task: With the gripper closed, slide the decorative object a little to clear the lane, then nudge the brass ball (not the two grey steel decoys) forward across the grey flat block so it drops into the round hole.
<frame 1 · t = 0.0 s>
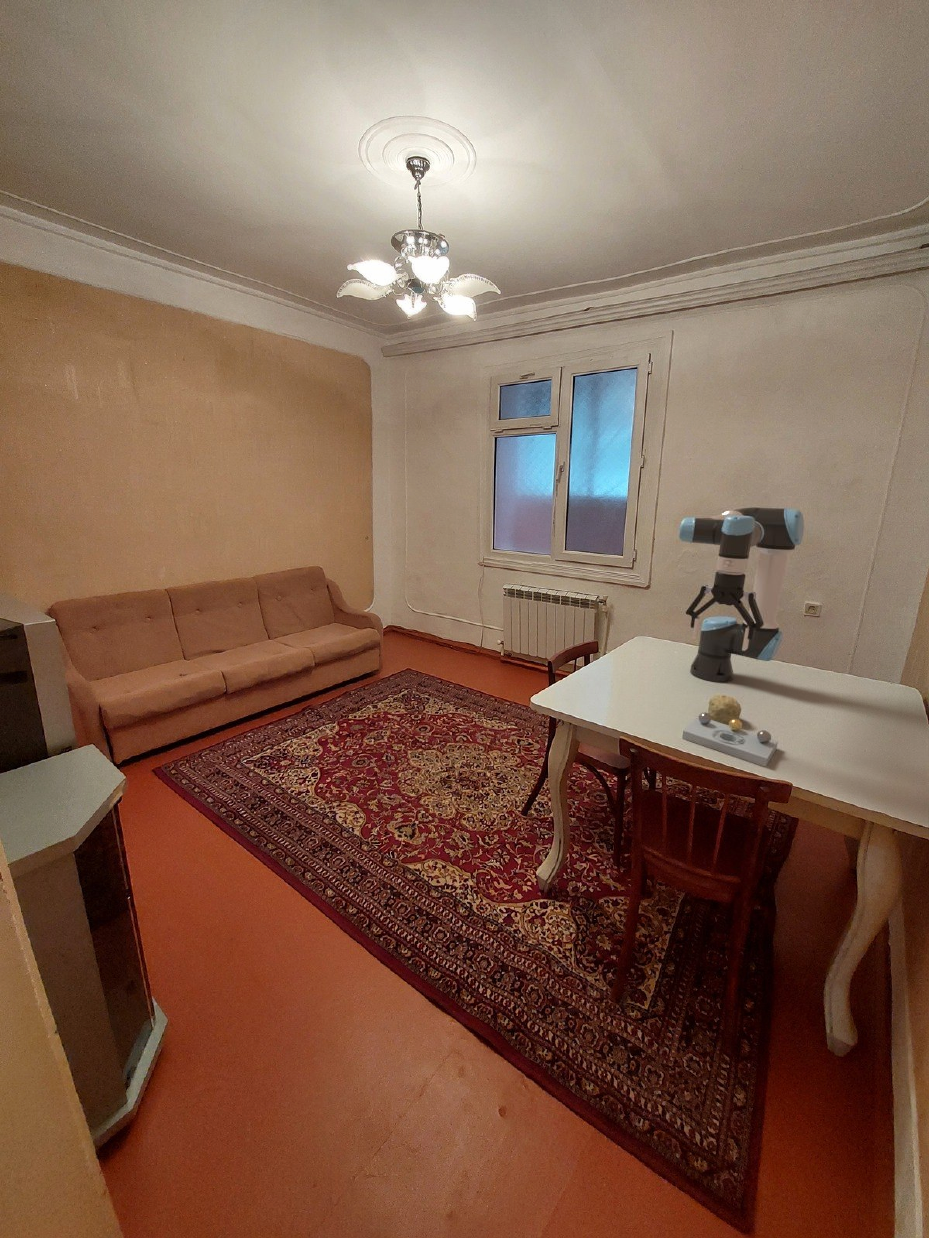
hand: (719, 644, 147), 28 cm above the table, fingers open, 13 cm apart
grey flat block: (728, 743, 147), on the table
decorative object: (722, 719, 162), on the table
brass ball: (735, 724, 149), point 4 cm above the table, touching grey flat block
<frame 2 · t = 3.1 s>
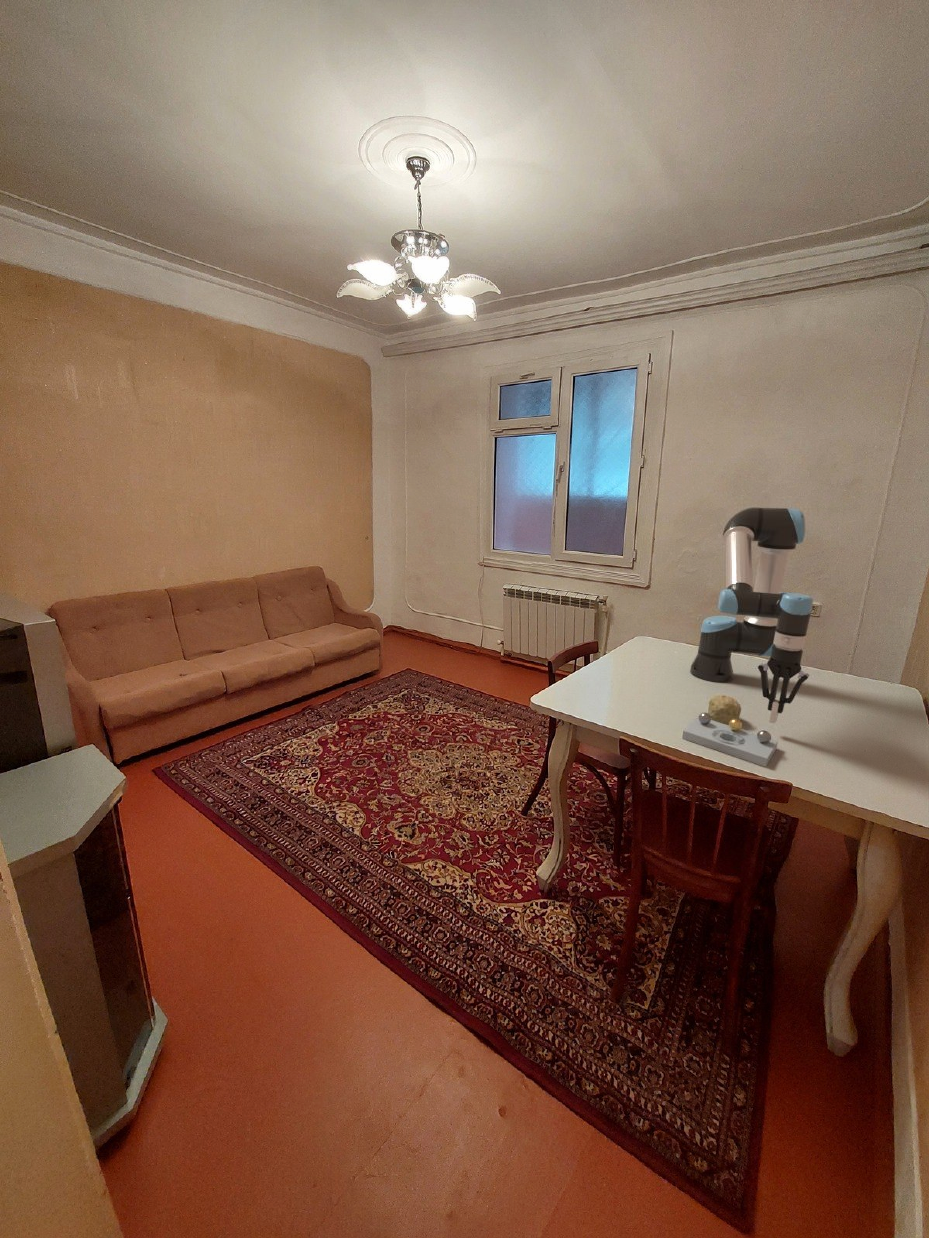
hand: (772, 721, 152), 4 cm above the table, fingers closed
nothing on the table moved.
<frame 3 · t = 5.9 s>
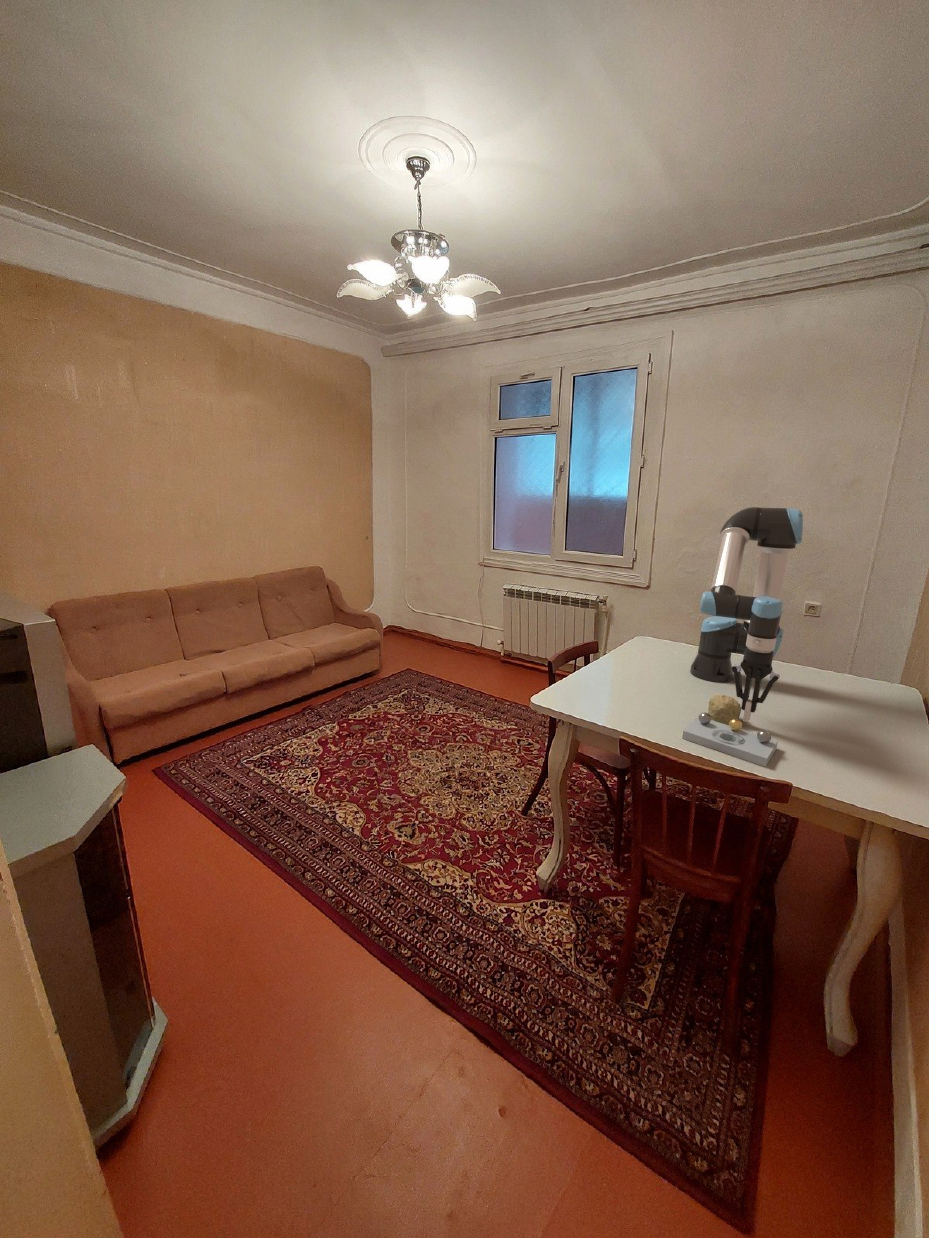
hand: (746, 720, 157), 2 cm above the table, fingers closed
decorative object: (722, 719, 162), on the table, touching gripper
everything else where it was.
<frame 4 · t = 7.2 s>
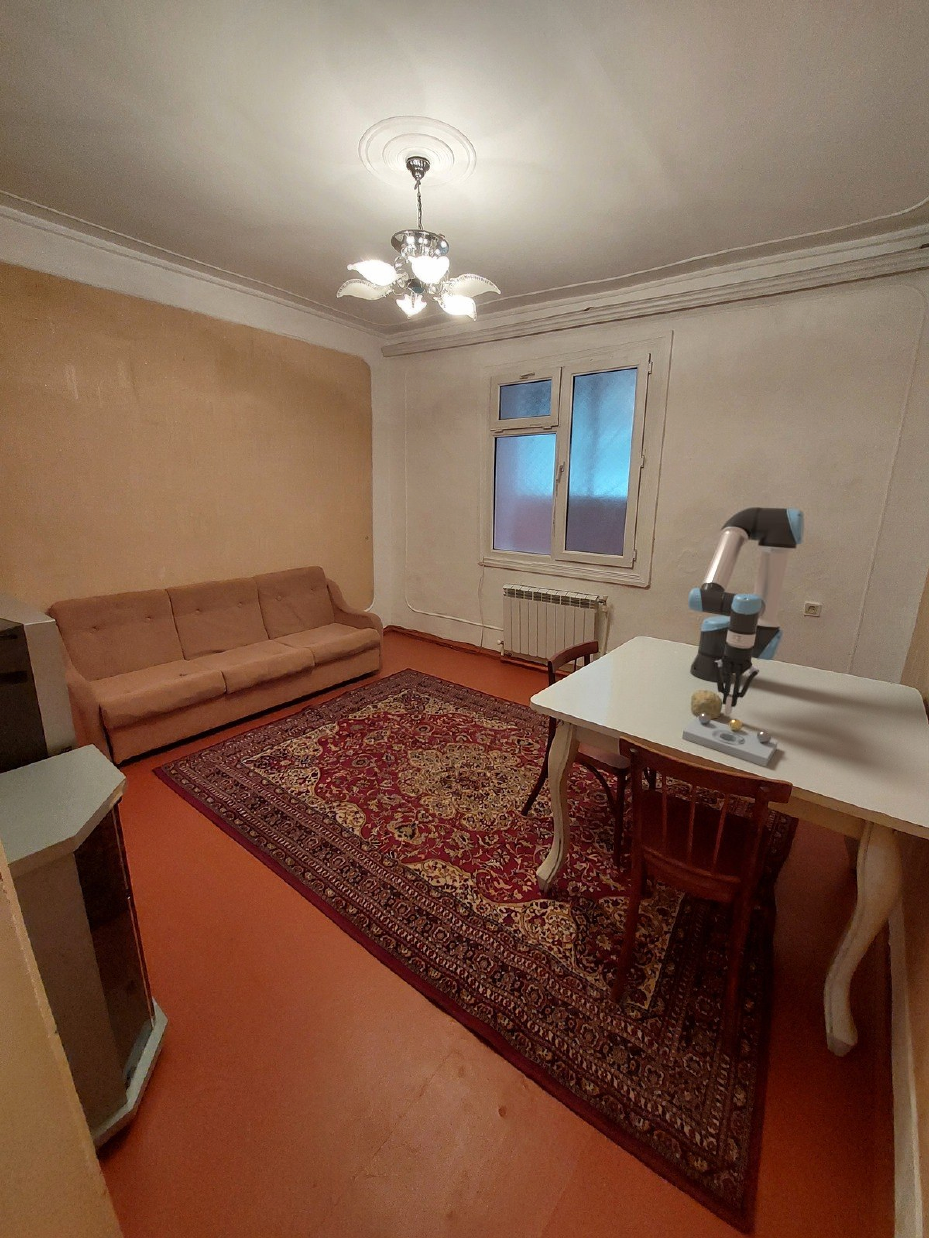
hand: (727, 714, 161), 2 cm above the table, fingers closed
decorative object: (704, 714, 165), on the table, touching gripper
everything else where it was.
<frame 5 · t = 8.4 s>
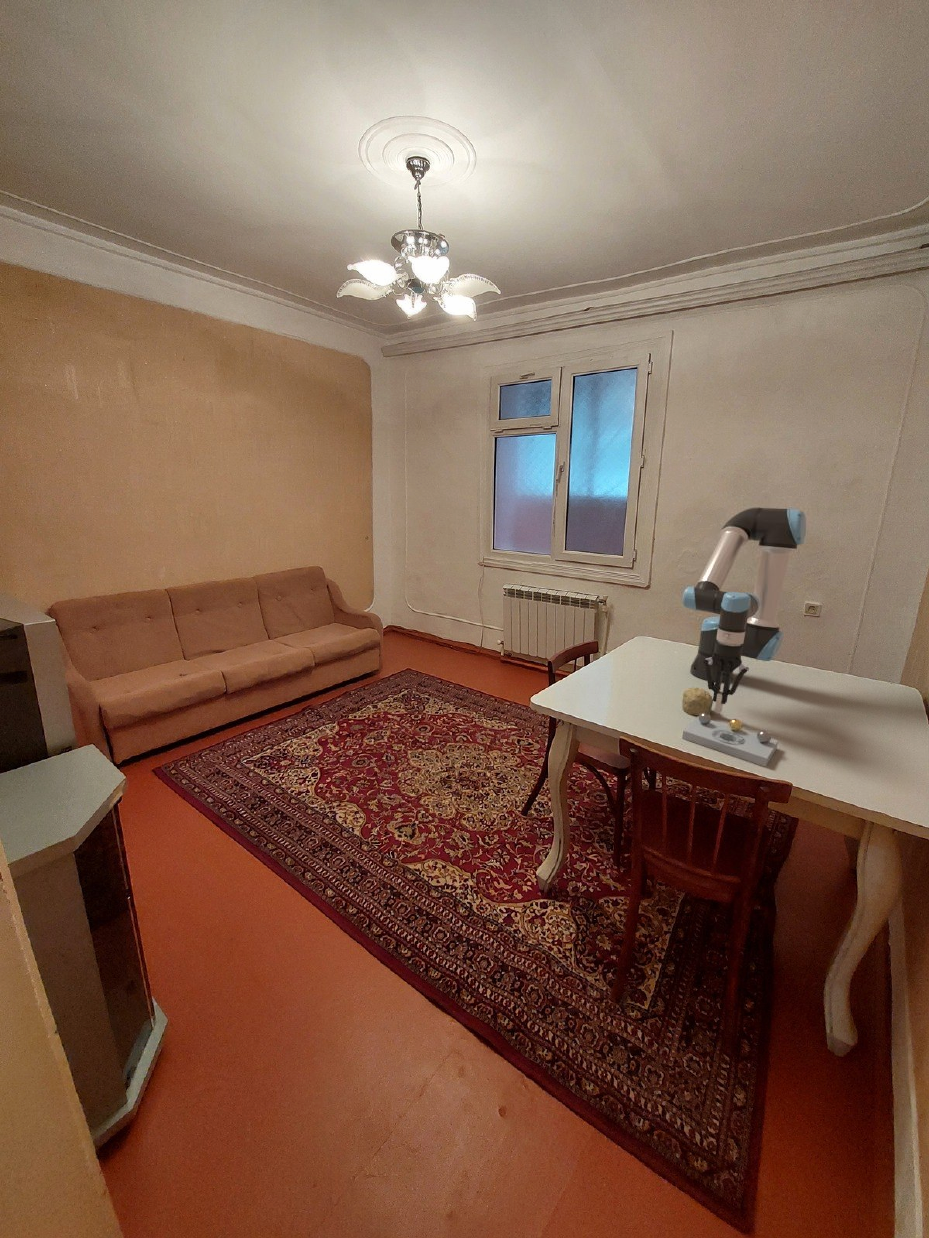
hand: (717, 711, 162), 2 cm above the table, fingers closed
decorative object: (695, 711, 167), on the table, touching gripper
everything else where it was.
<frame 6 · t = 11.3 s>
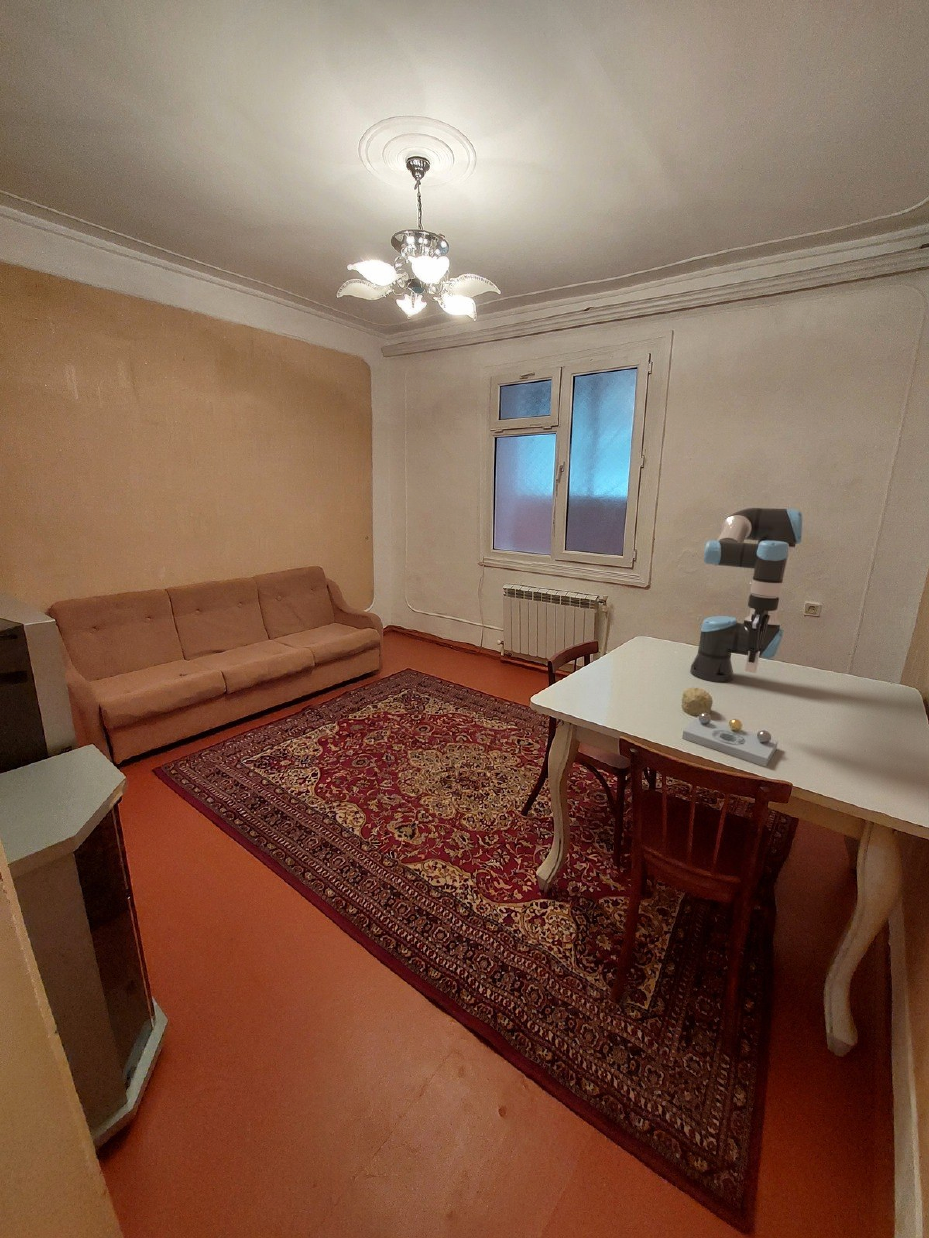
hand: (750, 671, 152), 19 cm above the table, fingers closed
decorative object: (695, 711, 167), on the table
everything else where it was.
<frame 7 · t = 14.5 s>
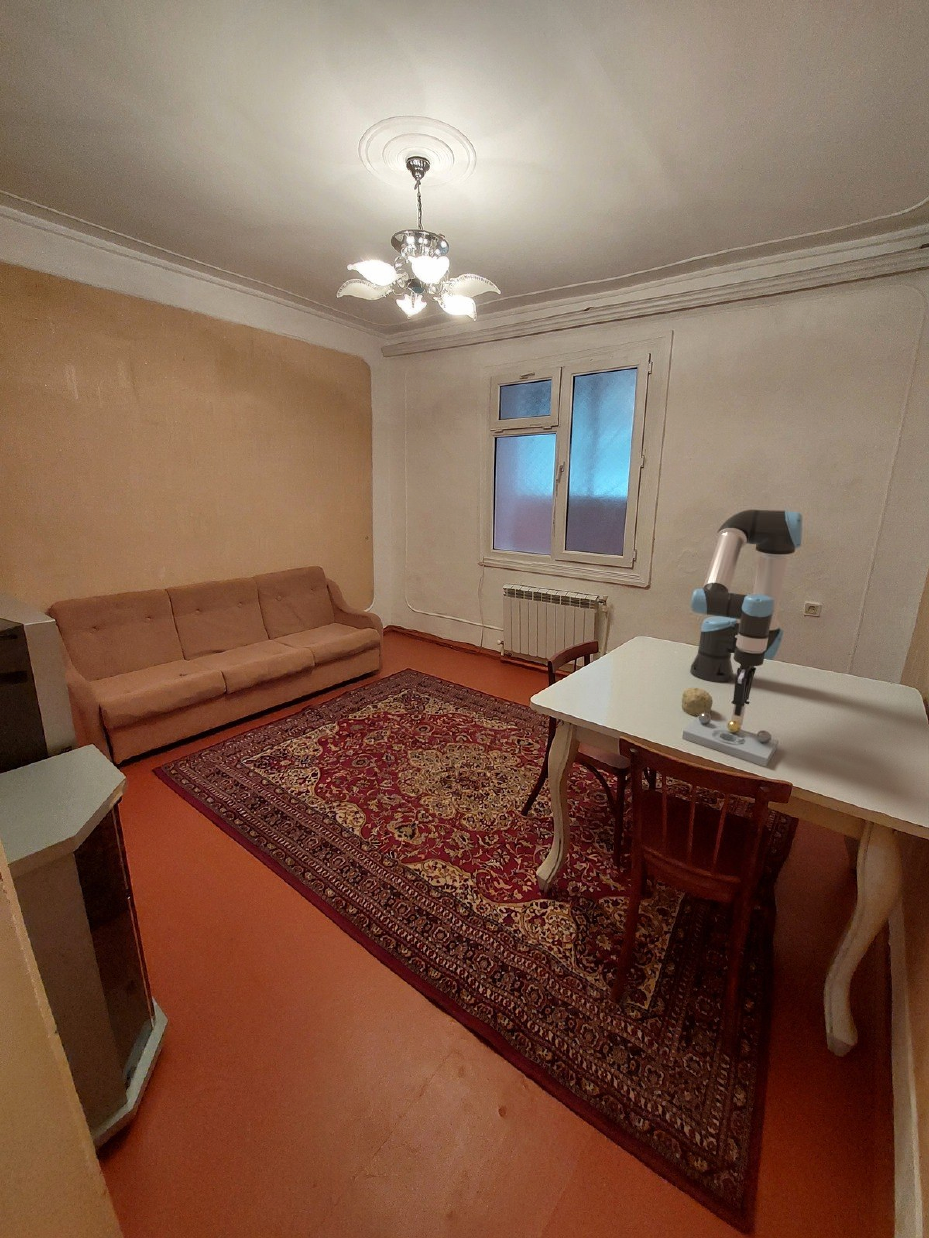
hand: (736, 723, 150), 4 cm above the table, fingers closed
brass ball: (733, 726, 148), point 4 cm above the table, tilted 51°, touching grey flat block
everything else where it was.
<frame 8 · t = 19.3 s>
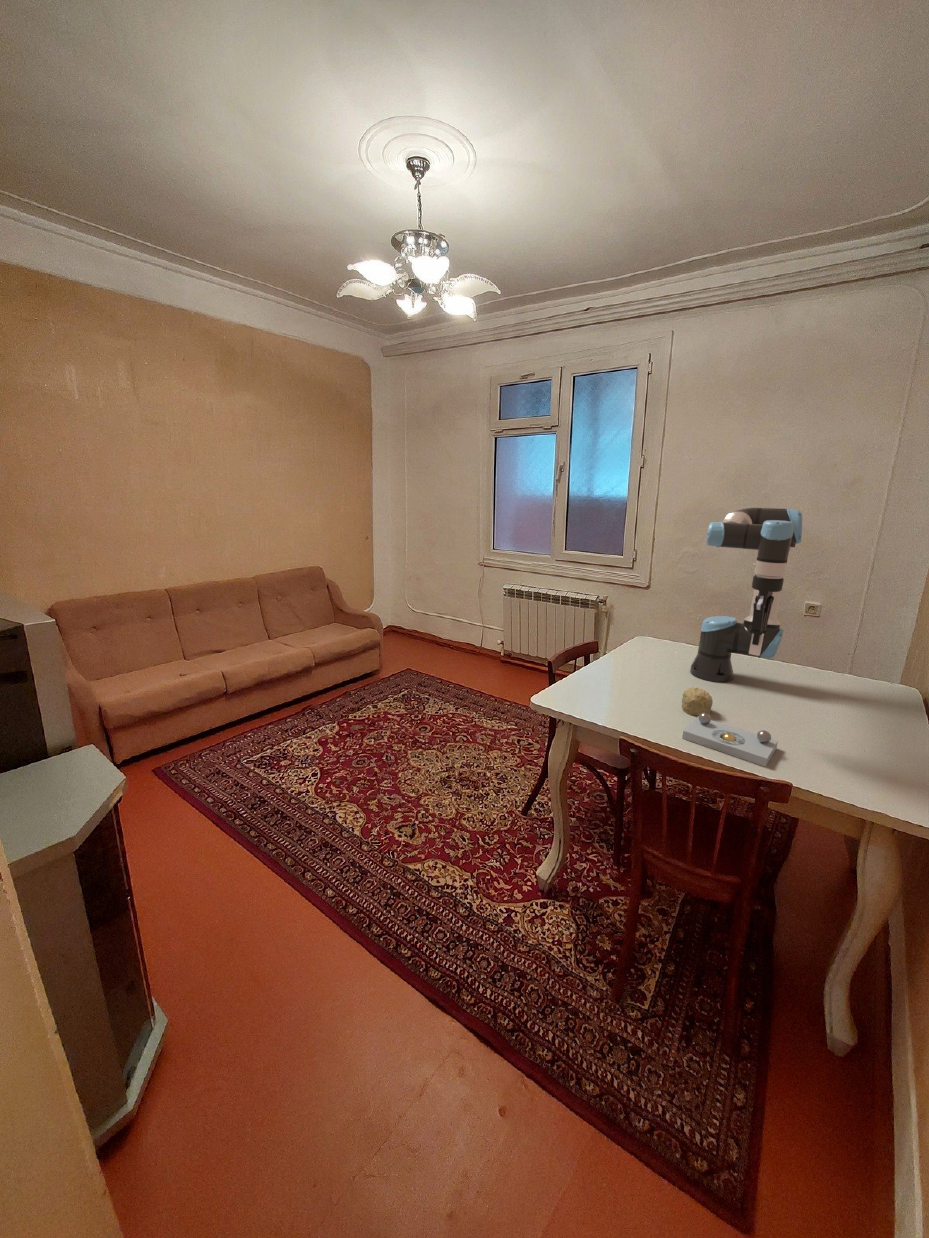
hand: (754, 654, 149), 24 cm above the table, fingers closed
brass ball: (728, 739, 146), point 2 cm above the table, tilted 117°
everything else where it was.
at the end: brass ball 0.3 cm from the target spot in the grey flat block, point 1.7 cm above the grey flat block's base; decorative object moved 8.4 cm from its start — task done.
